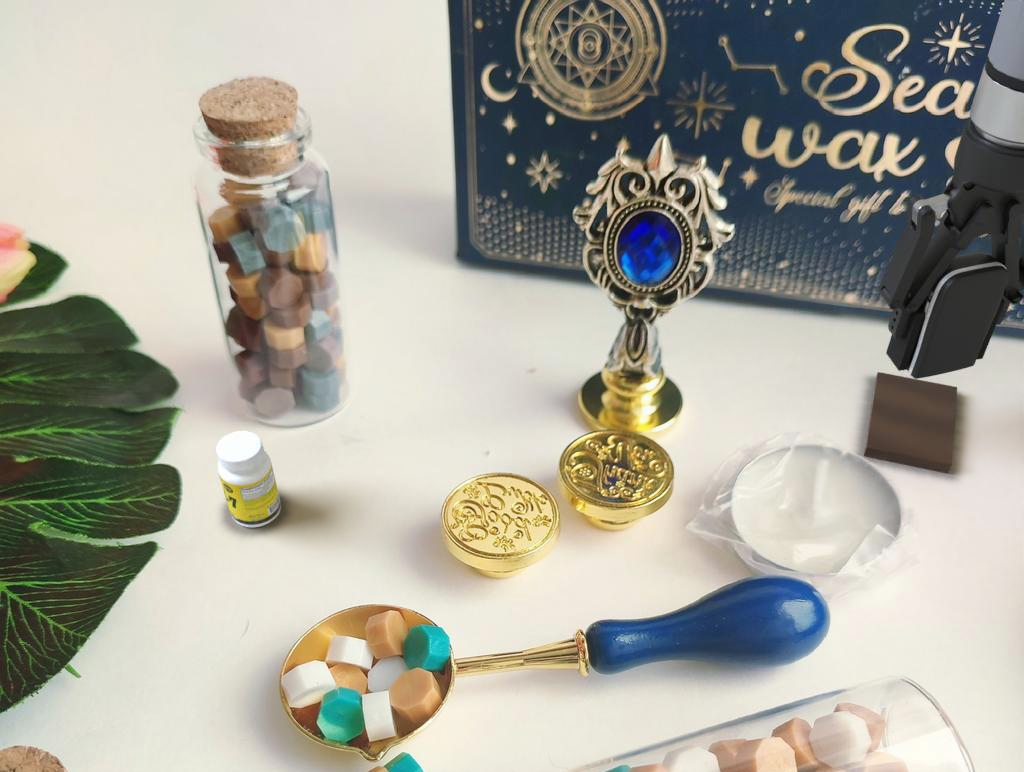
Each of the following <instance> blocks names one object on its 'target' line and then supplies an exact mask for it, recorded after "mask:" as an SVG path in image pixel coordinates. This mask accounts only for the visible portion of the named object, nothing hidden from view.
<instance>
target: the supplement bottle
mask: <svg viewBox="0 0 1024 772" xmlns="http://www.w3.org/2000/svg"><path fill="white" fill-rule="evenodd" d="M216 455H217V460H218V463H217V472H218V476H219V480H220V483H221V486H222V490H223V493H224V496H225V500H226V503H227V507H228V510H229V513H230V516H231V519H233V521H234V522H235V523H237V524H238V525H240V526H242V527H244V528H245V527H246V528H259V527H263V526H266V525H268V524H270V523H272V522H273V521H274V520H275V519H276V518H277V517H278V516H279V515H280V512H281V510H282V502H281V497H280V493H279V489H278V484H277V480H276V476H275V472H274V467H273V464H272V463H273V462H272V461H271V457H270V455H269V454H268V453H267V451H266V450H265V448H264V444H263V441H262V439H261V437H260V436H259V435H258V434H257V433H254V432H251V431H249V430H238V431H233V432H230V433H228V434H226V435H224V436H223V437H221V439H220V440H219V441H218V443H217V445H216Z"/></svg>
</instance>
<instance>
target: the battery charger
mask: <svg viewBox="0 0 1024 772" xmlns="http://www.w3.org/2000/svg"><path fill="white" fill-rule="evenodd" d="M1008 279H1009V273H1008V271H1007V269H1006V267H1005V266H1004V265H1003V264H1002V263H1000V262H998V261H997V260H996V259H995V258H993V257H992V254H990V253H987V252H985V251H984V252H983V251H980V252H979V251H978V252H971V253H966V254H961V255H957V256H956V257H955V258H954V260H953V261H952V263H951V264H950V265H949V267H948V268H947V269H946V271H945V272H944V274H943V275H942V276H941V278H940V279H939V281H938V282H937V283H936V285H935V286H934V288H933V289H932V290H931V292H930V293H929V295H928V296H927V297H926V299H925V300H924V302H923V303H922V304H921V308H922V309H923V310H924V312H925V316H924V319H923V322H922V325H921V328H920V330H919V333H918V336H917V339H916V342H915V345H914V348H913V351H912V354H911V357H910V360H909V363H908V366H907V369H906V370H905V371H907V373H908V374H909V376H910V377H912V378H913V379H917V380H919V379H924V378H929V377H932V376H933V377H934V376H939V375H945V374H949V373H953V372H957V371H961V370H964V369H968V368H971V367H974V366H975V365H976V361H977V360H978V359H977V356H978V354H979V351H980V349H981V346H982V344H983V341H984V339H985V337H986V334H987V332H988V330H989V328H990V326H991V323H992V321H993V319H994V317H995V314H996V312H997V310H998V307H999V305H1000V302H1001V300H1002V297H1003V294H1004V292H1005V289H1006V286H1007V283H1008ZM976 359H977V360H976Z"/></svg>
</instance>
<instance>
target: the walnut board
mask: <svg viewBox="0 0 1024 772" xmlns="http://www.w3.org/2000/svg"><path fill="white" fill-rule="evenodd" d="M873 384H874V385H873V390H872V391H873V392H872V396H871V397H872V398H871V404H870V412H869V417H868V424H867V429H866V431H867V432H866V436H865V444H864V451H863V457H867V458H872V459H877V460H882V461H887V462H891V463H896V464H901V465H906V466H910V467H914V468H920V469H925V470H928V471H934V472H939V473H944V474H949V473H950V470H951V468H952V465H953V456H954V455H953V453H954V440H955V439H954V438H955V425H956V423H955V422H956V413H957V412H956V411H957V398H958V386H953V385H948V384H944V383H938V382H933V381H928V380H922V379H915V378H913V377H912V378H911V377H906V376H901V375H895V374H890V373H885V372H881V371H880V372H879V371H877V373H876V376H875V379H874V383H873Z"/></svg>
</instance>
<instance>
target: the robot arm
mask: <svg viewBox="0 0 1024 772" xmlns="http://www.w3.org/2000/svg"><path fill="white" fill-rule="evenodd" d="M969 117H970V118H968V120H967V121H965V125H964V127H963V130H962V133H961V137H960V139H959V143H958V145H957V149H956V151H955V155H954V159H953V175H952V177H951V179H950V181H949V182H948V183H947V185H945V187H944V188H943V190H942V193H941V194H939V195H935V196H931V197H929V198H926V199H925V198H923V196H922V195H921V194H914V195H913V196H912V197H910V198H909V200H908V202H907V217H906V222H905V224H904V227H903V229H902V231H901V234H900V236H899V238H898V241H897V243H896V245H895V248H894V250H893V253H892V255H891V257H890V260H889V262H888V265H887V268H886V269H885V271H884V274H883V276H882V279H881V281H880V284H879V286H878V288H877V292H878V294H879V296H880V297H881V298H882V300H884V302H885V304H886V305H887V306H888V307H889V308H890V309H891V310H892V312H891V314H890V319H889V322H888V325H887V328H888V331H889V332H890V335H891V336H890V339H889V343H888V346H887V349H886V353H885V354H886V355H887V357H888V358H889V359H890V361H891V362H892V364H893V365H894V367H895V368H896V369H897V371H898V372H900V371H907V370H906V369H907V366H908V363H909V360H910V357H911V354H912V351H913V348H914V345H915V342H916V339H917V336H918V333H919V330H920V328H921V325H922V322H923V319H924V316H925V312H924V310H923V309H922V308H921V304H922V303H923V302H924V300H925V299H926V297H927V296H928V295H929V293H930V292H931V290H932V289H933V288H934V286H935V285H936V283H937V282H938V281H939V279H940V278H941V276H942V275H943V274H944V272H945V271H946V269H947V268H948V267H949V265H950V264H951V263H952V261H953V260H954V258H955V257H956V256H958V254H959V253H960V252H961V251H965V250H967V248H969V246H970V245H971V243H972V242H973V240H974V239H975V238H978V237H981V236H984V235H990V239H991V256H992V257H993V258H995V259H996V260H997V261H998V262H1000V263H1002V264H1003V265H1004V266H1005V267H1006V269H1007V271H1008V273H1009V279H1008V283H1007V286H1006V289H1005V292H1004V294H1003V297H1002V300H1001V302H1000V305H999V307H998V310H997V312H996V314H995V317H994V319H993V321H992V323H991V326H990V328H989V330H988V332H987V334H986V337H985V339H984V341H983V344H982V346H981V349H980V351H979V354H978V356H977V359H976V361H977V360H982V359H983V358H984V356H985V353H986V352H987V348H988V346H989V344H990V341H991V339H992V336H993V334H994V331H995V329H996V326H997V325H1001V323H1002V322H1003V321H1004V320H1005V317H1006V314H1007V312H1008V309H1009V307H1010V305H1017V304H1020V303H1021V302H1022V300H1023V299H1024V295H1023V294H1022V292H1021V291H1024V232H1023V217H1024V0H1004V1H1003V4H1002V8H1001V11H1000V14H999V18H998V20H997V24H996V27H995V31H994V34H993V37H992V41H991V43H990V48H989V51H988V54H987V57H986V60H985V63H984V65H983V68H982V72H981V75H980V79H979V82H978V85H977V88H976V90H975V94H974V97H973V100H972V104H971V107H970V109H969ZM941 215H942V216H941ZM934 232H935V233H934ZM1020 239H1021V240H1020Z"/></svg>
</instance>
